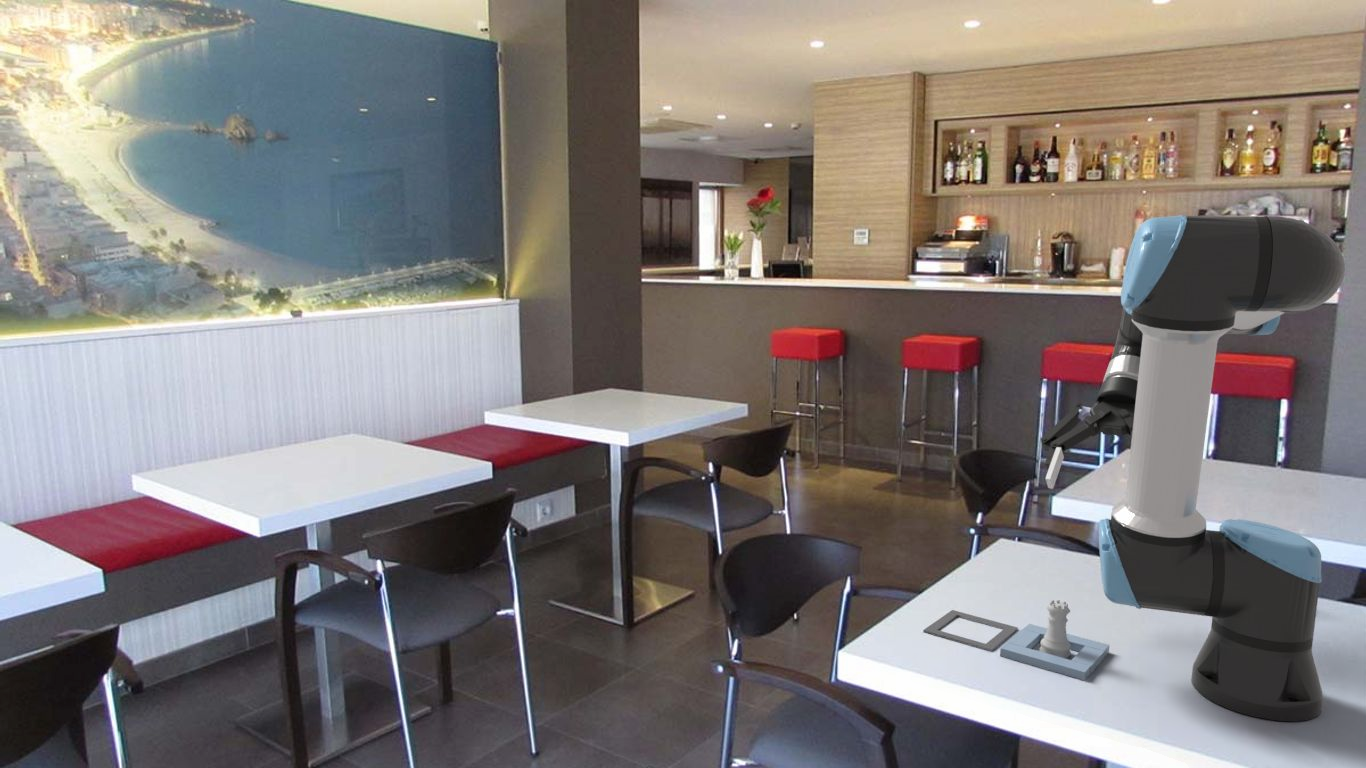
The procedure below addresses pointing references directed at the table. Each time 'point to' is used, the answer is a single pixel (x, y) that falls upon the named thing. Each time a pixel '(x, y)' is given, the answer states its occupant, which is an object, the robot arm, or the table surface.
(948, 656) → the table surface
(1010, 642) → the socket
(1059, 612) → the rook chess piece
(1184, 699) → the table surface
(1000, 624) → the bezel
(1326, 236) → the robot arm
